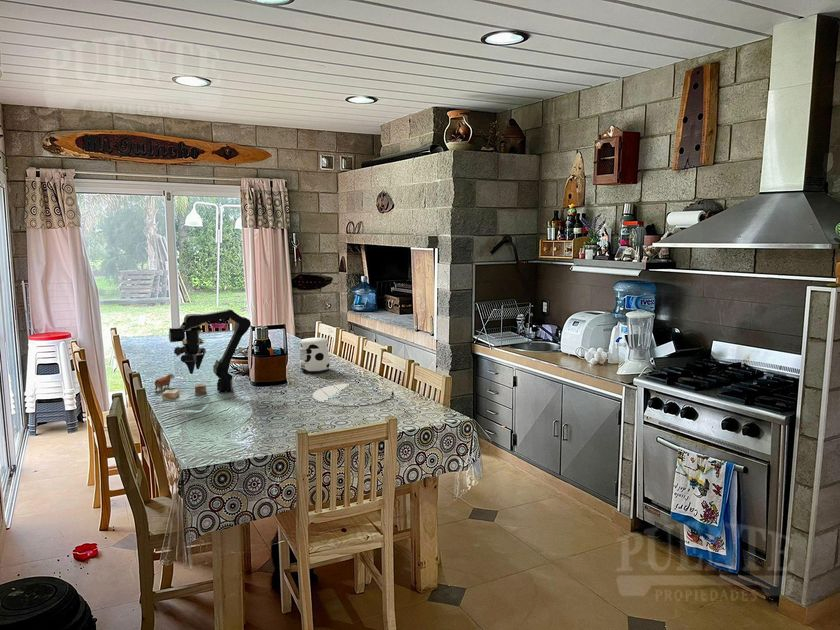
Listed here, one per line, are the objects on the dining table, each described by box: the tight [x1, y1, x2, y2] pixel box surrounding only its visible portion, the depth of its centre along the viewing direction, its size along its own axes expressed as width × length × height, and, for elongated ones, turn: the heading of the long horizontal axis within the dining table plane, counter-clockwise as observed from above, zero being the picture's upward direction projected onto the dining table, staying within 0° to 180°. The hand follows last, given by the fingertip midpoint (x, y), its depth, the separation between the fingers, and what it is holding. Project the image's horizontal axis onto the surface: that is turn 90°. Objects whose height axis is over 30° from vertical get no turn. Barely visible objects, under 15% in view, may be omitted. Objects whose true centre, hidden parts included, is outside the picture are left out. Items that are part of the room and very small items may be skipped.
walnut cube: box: [194, 382, 207, 396], centre depth 299 cm, size 5×5×5 cm
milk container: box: [299, 337, 331, 373], centre depth 347 cm, size 17×17×18 cm
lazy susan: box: [312, 381, 392, 402], centre depth 298 cm, size 40×39×3 cm
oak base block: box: [161, 389, 181, 400], centre depth 290 cm, size 6×6×3 cm
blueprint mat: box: [158, 394, 191, 402], centre depth 291 cm, size 12×10×1 cm
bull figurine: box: [154, 372, 176, 392], centre depth 306 cm, size 4×13×8 cm, turn 164°
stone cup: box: [181, 324, 205, 345], centre depth 432 cm, size 15×12×15 cm
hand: (194, 371), depth 297 cm, fingers open, 9 cm apart
